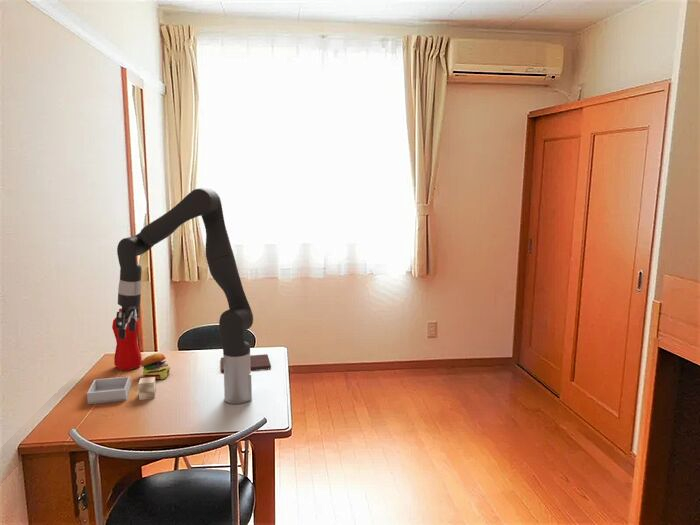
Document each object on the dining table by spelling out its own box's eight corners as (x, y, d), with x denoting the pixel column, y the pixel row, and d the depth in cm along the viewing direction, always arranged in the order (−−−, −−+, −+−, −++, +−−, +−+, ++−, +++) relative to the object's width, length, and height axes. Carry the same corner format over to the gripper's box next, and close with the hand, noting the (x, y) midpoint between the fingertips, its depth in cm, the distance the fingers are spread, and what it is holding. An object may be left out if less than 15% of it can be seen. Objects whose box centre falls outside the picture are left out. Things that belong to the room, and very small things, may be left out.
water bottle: (132, 360, 217) (128, 302, 213) (144, 366, 210) (141, 307, 206) (110, 366, 210) (106, 307, 206) (122, 372, 203) (118, 312, 199)
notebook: (221, 360, 219) (220, 356, 219) (267, 357, 224) (267, 353, 224) (221, 374, 205) (221, 369, 205) (270, 370, 210) (270, 365, 209)
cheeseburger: (153, 383, 194) (147, 357, 193) (138, 382, 200) (133, 358, 200) (176, 374, 202) (171, 350, 201) (161, 374, 208) (156, 350, 208)
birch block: (155, 392, 186) (155, 377, 185) (154, 398, 181) (153, 382, 180) (141, 394, 185) (140, 378, 184) (139, 399, 180) (138, 383, 179)
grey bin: (130, 386, 191) (130, 376, 190) (126, 400, 179) (125, 389, 178) (95, 389, 188) (94, 379, 187) (87, 404, 176) (86, 393, 175)
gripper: (131, 298, 176) (128, 342, 179) (148, 288, 190) (145, 329, 193) (109, 295, 176) (107, 339, 179) (127, 285, 190) (125, 327, 193)
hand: (127, 334), depth 186 cm, fingers open, 8 cm apart
